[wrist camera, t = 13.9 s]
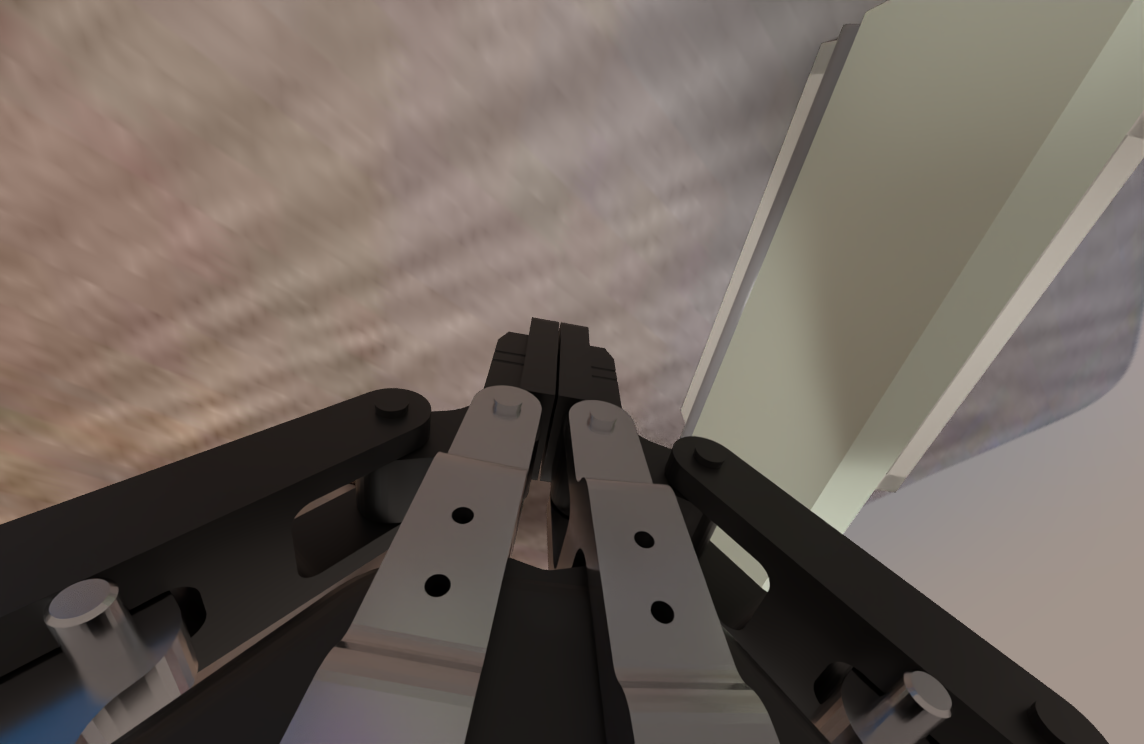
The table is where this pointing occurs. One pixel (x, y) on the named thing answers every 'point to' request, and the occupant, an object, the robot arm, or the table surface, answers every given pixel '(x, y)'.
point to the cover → (915, 230)
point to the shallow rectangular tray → (1095, 200)
